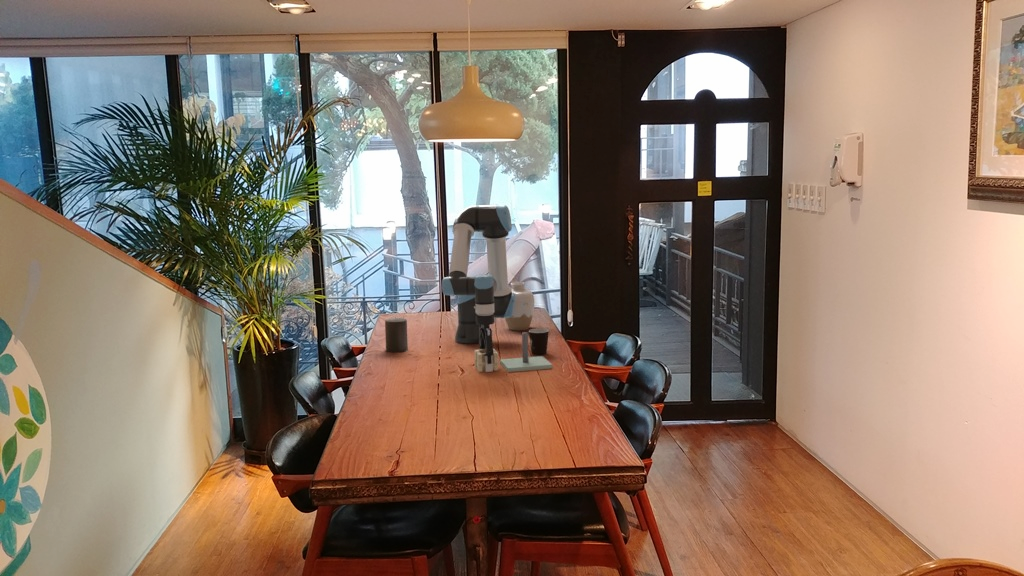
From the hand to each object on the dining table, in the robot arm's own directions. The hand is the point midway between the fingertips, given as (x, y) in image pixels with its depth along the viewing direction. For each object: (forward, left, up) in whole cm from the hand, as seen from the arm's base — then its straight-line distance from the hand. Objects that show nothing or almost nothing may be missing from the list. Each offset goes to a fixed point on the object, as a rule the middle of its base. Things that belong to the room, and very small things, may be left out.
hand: (486, 368), depth 322 cm
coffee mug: (-19, +27, 0) cm, 33 cm away
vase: (-71, +30, 0) cm, 77 cm away
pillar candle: (-45, -32, 0) cm, 55 cm away
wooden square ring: (0, 0, 0) cm, 0 cm away
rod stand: (0, +16, 0) cm, 16 cm away
